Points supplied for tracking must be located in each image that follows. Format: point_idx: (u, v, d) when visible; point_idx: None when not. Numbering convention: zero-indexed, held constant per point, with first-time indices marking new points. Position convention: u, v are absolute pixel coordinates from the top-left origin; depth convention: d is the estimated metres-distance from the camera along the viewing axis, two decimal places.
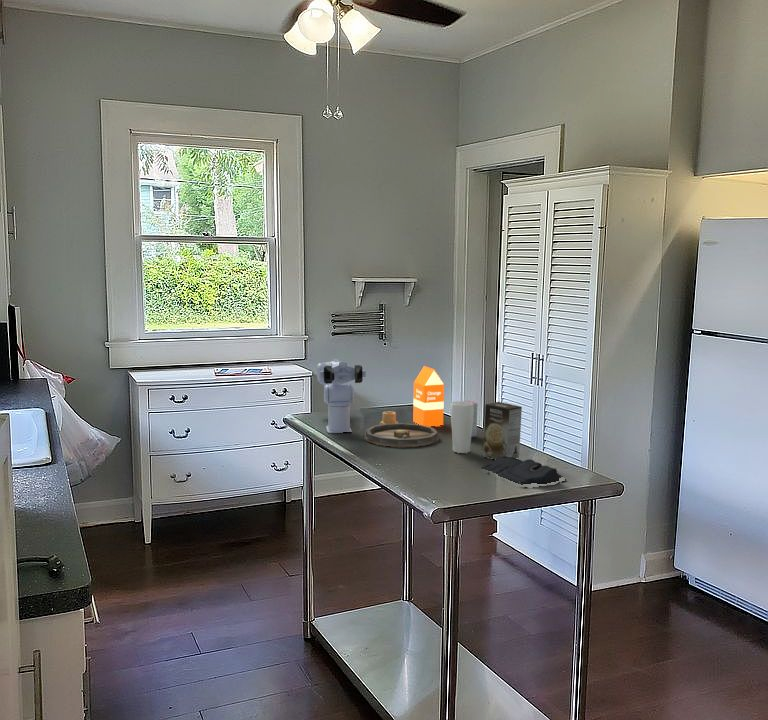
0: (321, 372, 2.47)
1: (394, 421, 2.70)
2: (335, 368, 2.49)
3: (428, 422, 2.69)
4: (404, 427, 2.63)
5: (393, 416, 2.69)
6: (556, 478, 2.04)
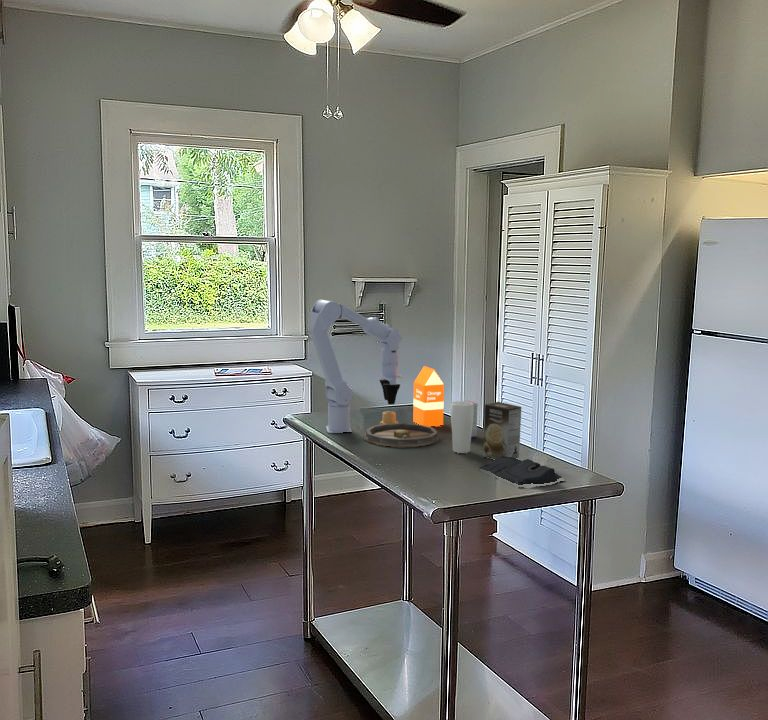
0: None
1: (394, 421, 2.70)
2: (395, 378, 2.67)
3: (428, 422, 2.69)
4: (404, 427, 2.63)
5: (393, 416, 2.69)
6: (554, 478, 2.04)
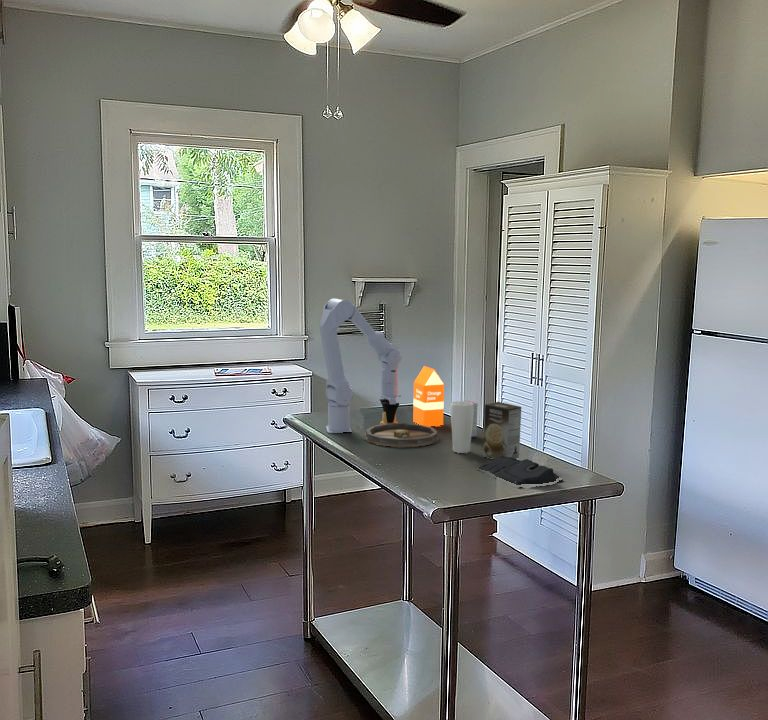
0: None
1: (394, 421, 2.70)
2: None
3: (428, 422, 2.69)
4: (404, 427, 2.63)
5: None
6: (552, 478, 2.04)
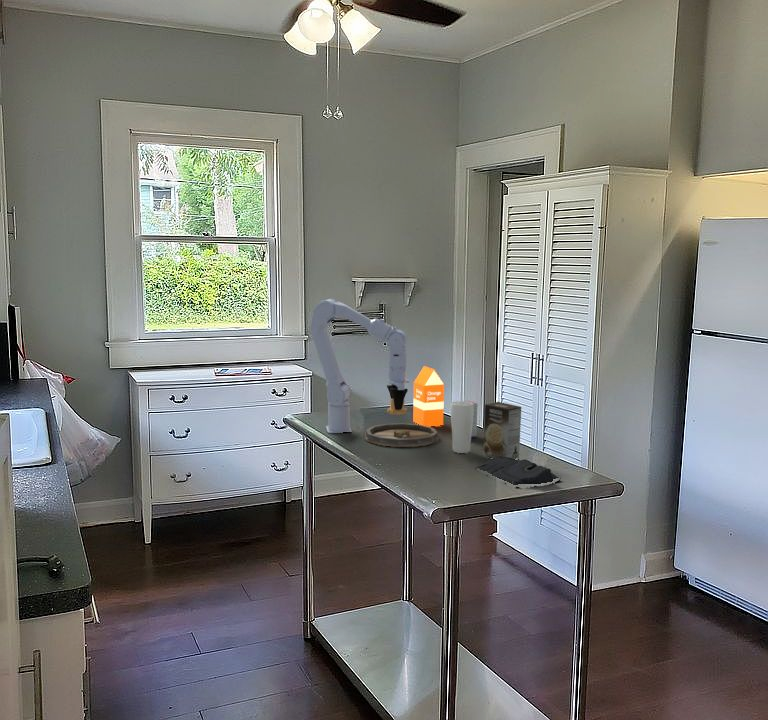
0: None
1: (402, 408, 2.57)
2: (403, 383, 2.55)
3: (428, 422, 2.69)
4: (404, 427, 2.63)
5: None
6: (550, 478, 2.04)
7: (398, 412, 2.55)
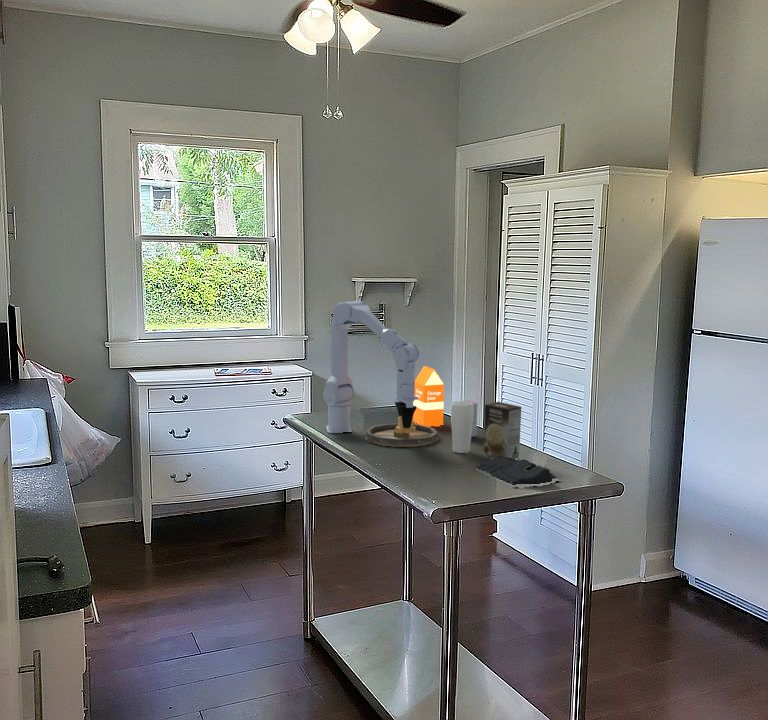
0: None
1: (411, 426, 2.45)
2: None
3: (428, 422, 2.69)
4: None
5: None
6: (549, 478, 2.04)
7: (407, 430, 2.43)
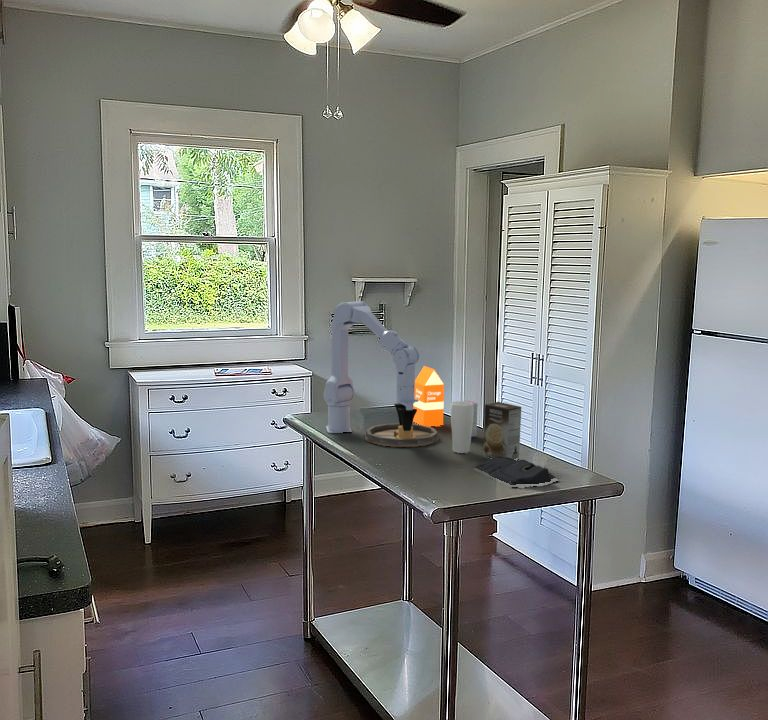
0: None
1: (411, 436, 2.45)
2: None
3: (428, 422, 2.69)
4: None
5: None
6: (547, 478, 2.04)
7: None
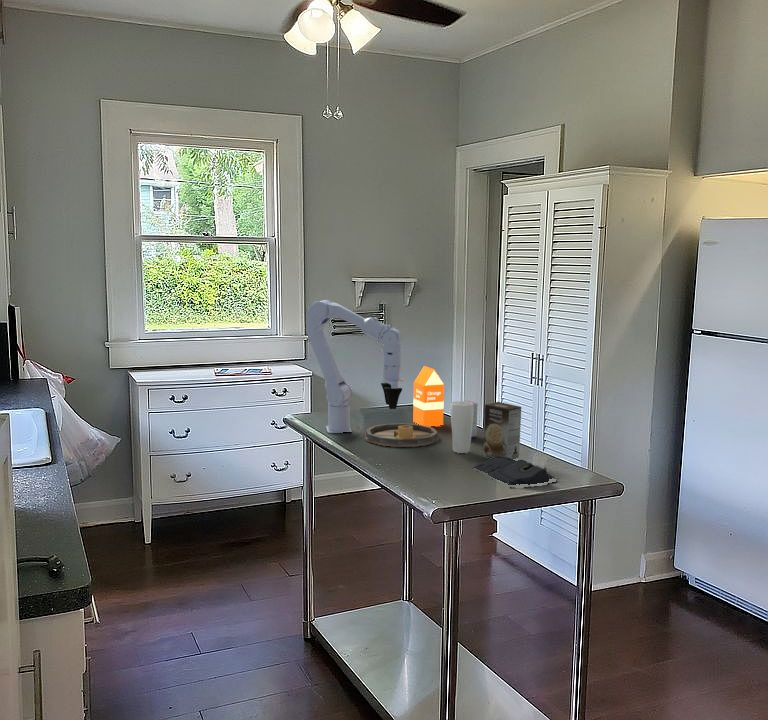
0: None
1: (411, 436, 2.45)
2: None
3: (428, 422, 2.69)
4: None
5: (410, 430, 2.44)
6: (546, 479, 2.03)
7: None
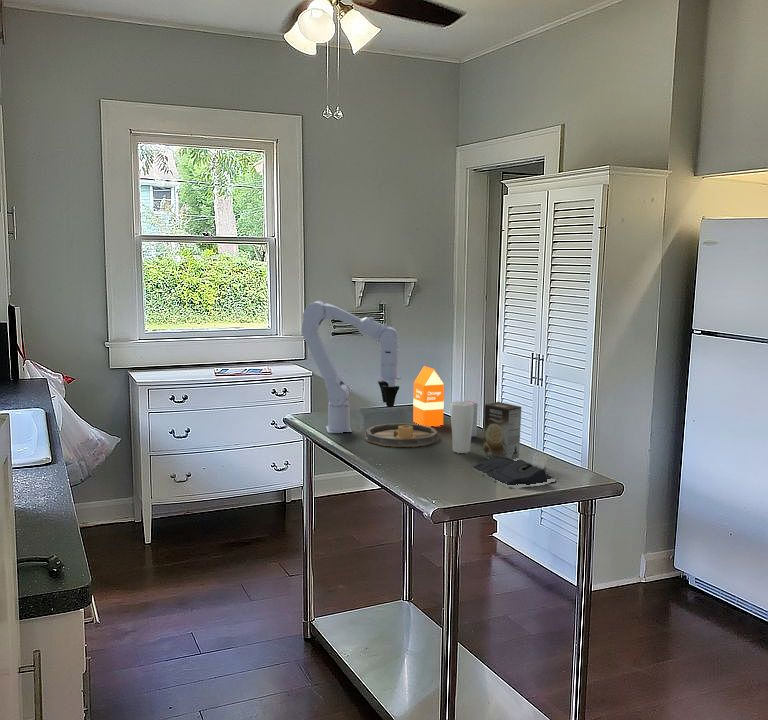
0: None
1: (411, 436, 2.45)
2: None
3: (428, 422, 2.69)
4: None
5: (410, 430, 2.44)
6: (544, 479, 2.03)
7: None
